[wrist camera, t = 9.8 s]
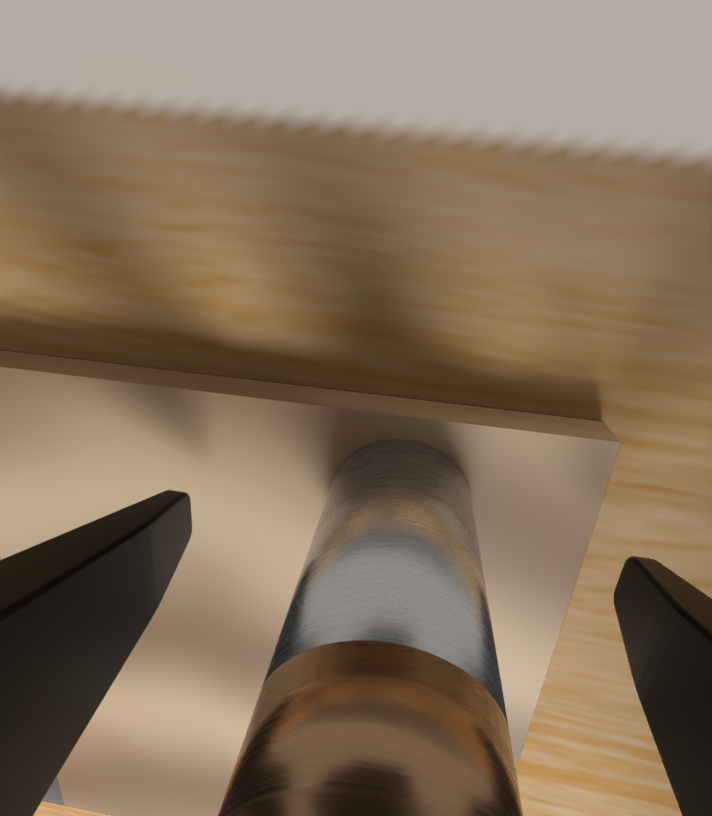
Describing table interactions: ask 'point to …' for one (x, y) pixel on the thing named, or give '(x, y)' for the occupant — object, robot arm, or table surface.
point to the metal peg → (384, 658)
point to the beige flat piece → (266, 541)
